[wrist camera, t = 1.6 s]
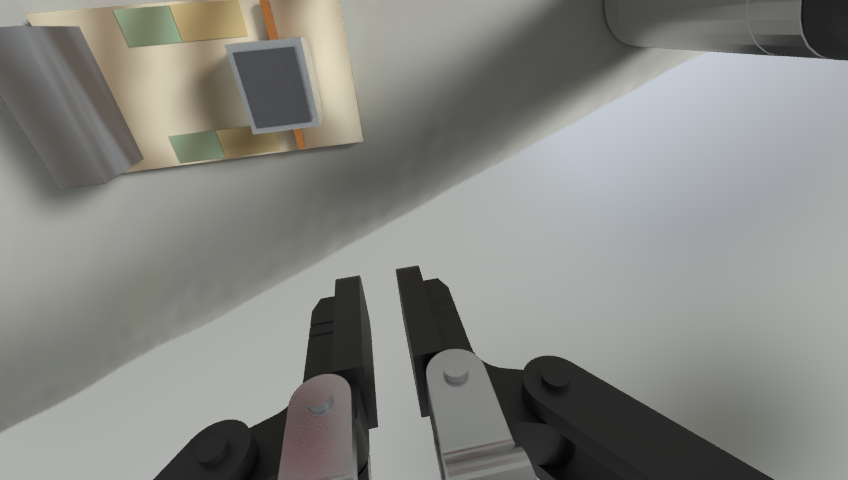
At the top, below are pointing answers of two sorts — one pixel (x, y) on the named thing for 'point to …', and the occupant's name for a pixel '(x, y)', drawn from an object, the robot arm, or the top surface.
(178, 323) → the top surface
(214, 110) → the board
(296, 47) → the block
